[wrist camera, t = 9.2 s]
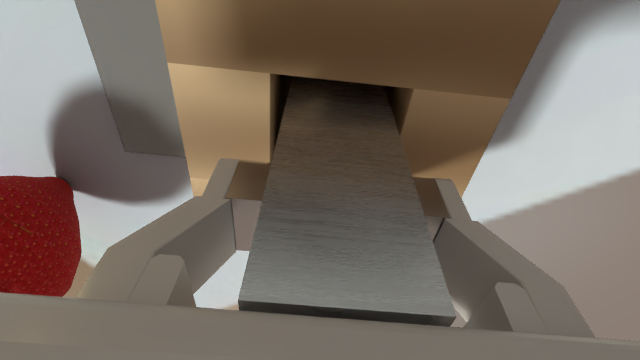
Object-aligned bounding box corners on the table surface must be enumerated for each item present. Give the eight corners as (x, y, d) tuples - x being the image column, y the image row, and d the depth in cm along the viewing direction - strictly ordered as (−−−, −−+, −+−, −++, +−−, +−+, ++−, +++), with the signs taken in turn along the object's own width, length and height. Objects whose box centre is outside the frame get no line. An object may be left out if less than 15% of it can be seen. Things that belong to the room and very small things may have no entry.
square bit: (293, 70, 12) (238, 300, 5) (382, 79, 12) (456, 317, 5) (290, 145, 14) (247, 385, 7) (365, 153, 14) (401, 395, 7)
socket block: (207, -73, 11) (141, -65, 7) (489, -38, 12) (567, -14, 8) (229, 161, 18) (200, 231, 14) (412, 178, 18) (434, 251, 14)
